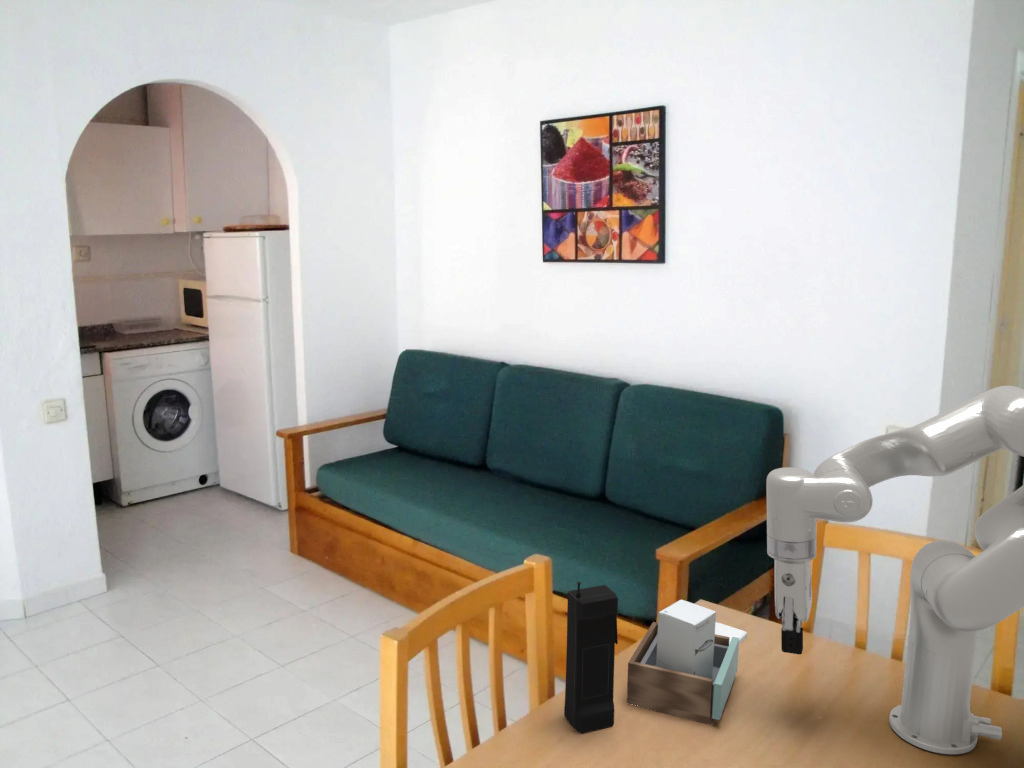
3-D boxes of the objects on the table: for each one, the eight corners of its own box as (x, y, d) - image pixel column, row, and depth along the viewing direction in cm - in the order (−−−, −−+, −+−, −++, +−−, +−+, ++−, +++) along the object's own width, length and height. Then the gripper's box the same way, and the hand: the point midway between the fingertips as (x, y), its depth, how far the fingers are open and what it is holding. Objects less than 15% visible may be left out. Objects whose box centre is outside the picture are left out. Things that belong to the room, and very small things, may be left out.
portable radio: (604, 705, 139) (607, 566, 134) (621, 724, 133) (625, 581, 129) (561, 714, 136) (564, 573, 131) (577, 735, 130) (580, 588, 126)
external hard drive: (746, 639, 162) (720, 664, 153) (708, 626, 168) (680, 650, 158) (747, 631, 162) (720, 656, 153) (709, 619, 167) (680, 642, 158)
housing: (727, 675, 148) (729, 637, 146) (709, 724, 133) (711, 681, 132) (651, 659, 154) (653, 621, 152) (626, 703, 139) (628, 662, 138)
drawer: (737, 669, 147) (739, 638, 146) (719, 720, 132) (721, 685, 131) (659, 652, 153) (660, 622, 152) (633, 699, 138) (635, 665, 137)
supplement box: (690, 695, 137) (694, 625, 135) (654, 678, 143) (656, 611, 140) (713, 678, 143) (717, 610, 140) (677, 662, 148) (680, 597, 145)
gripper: (812, 565, 123) (812, 677, 126) (820, 531, 136) (820, 633, 139) (760, 560, 126) (762, 669, 129) (773, 527, 139) (774, 627, 142)
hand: (792, 650), depth 134 cm, fingers closed
